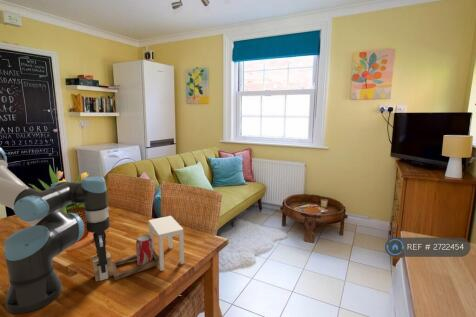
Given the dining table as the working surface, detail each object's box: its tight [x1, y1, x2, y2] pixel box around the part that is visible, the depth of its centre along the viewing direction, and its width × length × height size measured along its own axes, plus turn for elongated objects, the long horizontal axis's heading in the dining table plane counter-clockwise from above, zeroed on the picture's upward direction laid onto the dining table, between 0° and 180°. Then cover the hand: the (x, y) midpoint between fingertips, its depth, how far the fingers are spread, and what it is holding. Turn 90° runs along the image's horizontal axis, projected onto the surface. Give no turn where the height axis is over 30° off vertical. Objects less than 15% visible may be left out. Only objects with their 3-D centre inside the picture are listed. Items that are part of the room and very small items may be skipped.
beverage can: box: [135, 234, 153, 267], centre depth 108 cm, size 6×6×12 cm
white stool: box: [148, 215, 185, 272], centre depth 112 cm, size 10×16×16 cm, turn 33°
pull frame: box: [91, 248, 159, 282], centre depth 104 cm, size 23×11×8 cm, turn 123°
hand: (103, 275), depth 101 cm, fingers closed on pull frame, 4 cm apart
